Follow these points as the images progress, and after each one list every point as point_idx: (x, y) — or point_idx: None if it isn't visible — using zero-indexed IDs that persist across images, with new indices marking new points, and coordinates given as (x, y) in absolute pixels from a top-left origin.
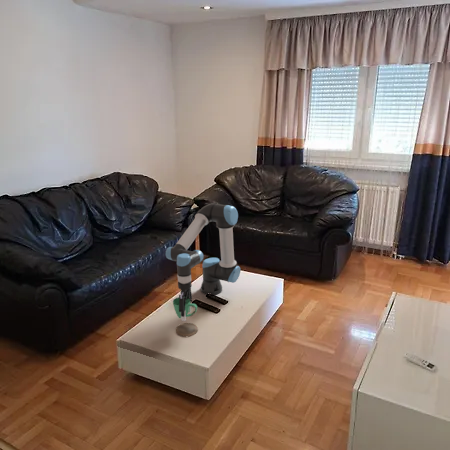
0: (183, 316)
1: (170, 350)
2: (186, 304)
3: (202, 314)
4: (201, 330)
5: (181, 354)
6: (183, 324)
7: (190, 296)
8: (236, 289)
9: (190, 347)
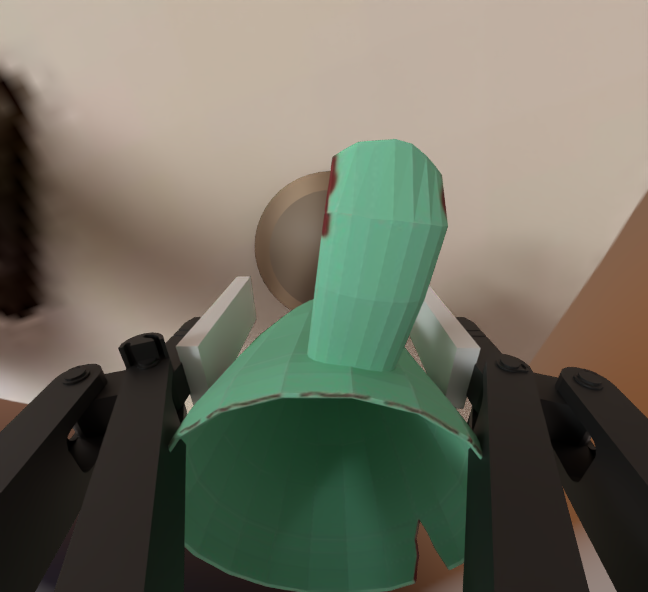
0: (468, 321)
1: (556, 277)
2: (443, 419)
3: (108, 206)
4: (308, 142)
5: (613, 194)
6: (288, 291)
7: (63, 433)
8: None
9: (535, 156)
